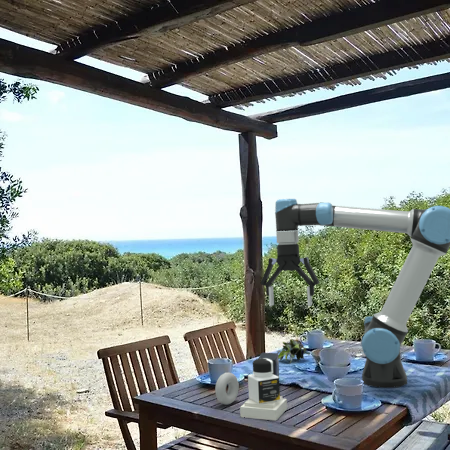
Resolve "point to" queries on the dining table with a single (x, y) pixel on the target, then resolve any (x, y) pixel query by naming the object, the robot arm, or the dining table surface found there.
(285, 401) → the plinth
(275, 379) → the medicine bottle
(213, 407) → the dining table surface
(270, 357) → the small box
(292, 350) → the passion flower
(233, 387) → the donut
